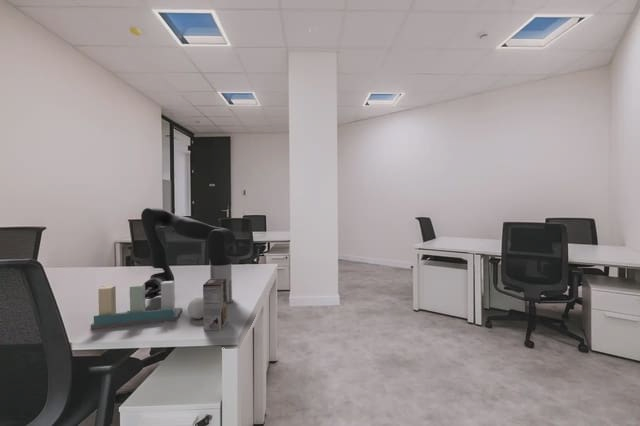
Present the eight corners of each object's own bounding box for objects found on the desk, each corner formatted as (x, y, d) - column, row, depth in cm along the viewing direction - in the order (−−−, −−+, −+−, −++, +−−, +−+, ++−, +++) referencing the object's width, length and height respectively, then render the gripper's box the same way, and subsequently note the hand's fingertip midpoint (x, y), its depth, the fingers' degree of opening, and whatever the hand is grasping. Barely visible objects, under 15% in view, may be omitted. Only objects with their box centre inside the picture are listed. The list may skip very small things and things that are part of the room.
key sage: (145, 314, 118) (145, 283, 118) (142, 318, 114) (141, 286, 114) (134, 315, 117) (133, 284, 117) (130, 319, 113) (129, 286, 113)
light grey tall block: (174, 310, 123) (174, 280, 122) (172, 313, 119) (172, 282, 119) (163, 311, 122) (163, 281, 121) (161, 314, 118) (160, 283, 118)
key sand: (115, 317, 115) (115, 285, 115) (111, 321, 111) (111, 288, 111) (103, 318, 114) (103, 286, 114) (99, 322, 110) (98, 289, 110)
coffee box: (210, 321, 115) (209, 278, 114) (227, 320, 115) (227, 278, 115) (202, 331, 105) (202, 284, 105) (222, 330, 106) (221, 283, 106)
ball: (184, 322, 114) (184, 301, 114) (191, 315, 122) (191, 295, 122) (206, 321, 115) (206, 300, 114) (212, 314, 123) (212, 294, 122)
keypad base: (182, 311, 127) (182, 300, 127) (176, 321, 115) (175, 309, 115) (105, 317, 120) (105, 306, 120) (90, 329, 108) (90, 316, 108)
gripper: (135, 280, 133) (119, 290, 116) (168, 278, 136) (158, 287, 119) (135, 297, 133) (120, 310, 116) (168, 295, 136) (158, 306, 119)
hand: (139, 298), depth 117 cm, fingers closed
